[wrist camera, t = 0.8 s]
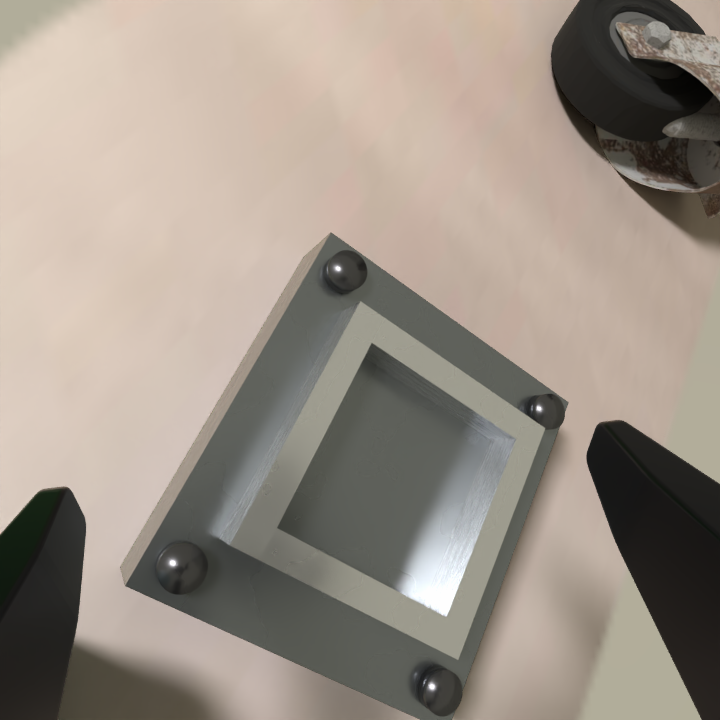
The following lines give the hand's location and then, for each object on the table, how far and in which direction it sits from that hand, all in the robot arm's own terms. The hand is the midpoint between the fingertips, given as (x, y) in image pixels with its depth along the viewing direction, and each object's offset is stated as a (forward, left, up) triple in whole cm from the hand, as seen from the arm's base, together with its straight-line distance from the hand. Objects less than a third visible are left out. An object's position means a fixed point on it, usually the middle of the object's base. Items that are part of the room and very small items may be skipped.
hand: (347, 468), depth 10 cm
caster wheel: (+26, -10, -13) cm, 31 cm away
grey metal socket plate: (+2, -5, -12) cm, 13 cm away
